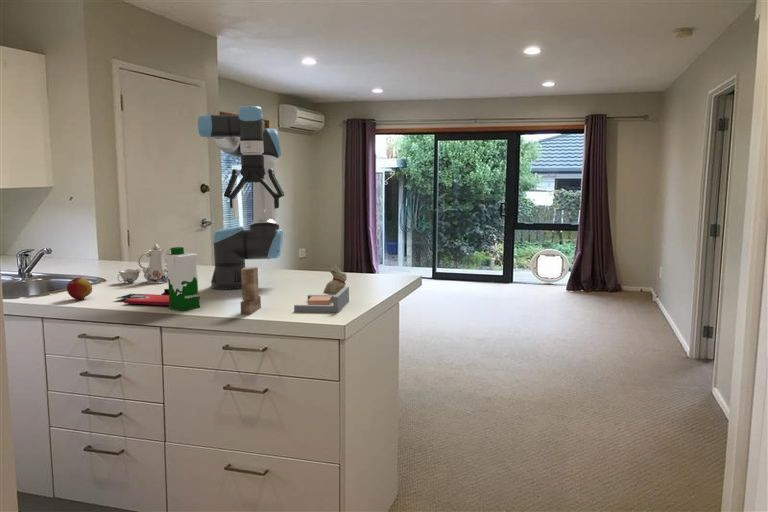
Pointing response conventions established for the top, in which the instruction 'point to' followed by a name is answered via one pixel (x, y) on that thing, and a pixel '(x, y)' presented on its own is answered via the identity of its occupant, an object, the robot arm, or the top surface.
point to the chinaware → (149, 268)
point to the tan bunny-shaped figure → (336, 281)
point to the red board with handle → (148, 298)
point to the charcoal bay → (338, 304)
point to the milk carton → (182, 279)
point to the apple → (79, 288)
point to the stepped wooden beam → (250, 291)
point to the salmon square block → (320, 300)
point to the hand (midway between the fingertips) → (255, 218)
